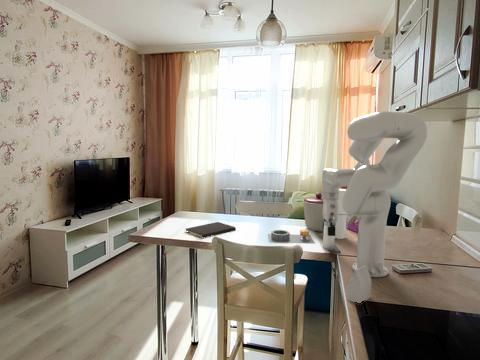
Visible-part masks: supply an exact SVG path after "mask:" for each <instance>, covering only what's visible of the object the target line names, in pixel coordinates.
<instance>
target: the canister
mask: <svg viewBox="0 0 480 360" xmlns="http://www.w3.org/2000/svg"><path fill="white" fill-rule="evenodd" d="M323 200H324V199H322V192H316V193H315V196H309V197H305V198H304V199H302V203H303V212H304V214H303V215H304V222H305V223H304V224H305V227H306V229H307V230H312V231H314V232H324V230H323Z"/></svg>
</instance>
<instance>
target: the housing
mask: <svg viewBox="0 0 480 360" xmlns="http://www.w3.org/2000/svg"><path fill="white" fill-rule="evenodd" d="M267 239H268V243H280V244H281V243H282V244H283V243H284V244H286V243H287V244H316V242H315V240H314V239H313V238H312V236H311V234H309V236H306V239H303V236H301V235H300V234H290V231H288V230H285V229H274V230H272V231H271V233H268V234H267Z"/></svg>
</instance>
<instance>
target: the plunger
mask: <svg viewBox="0 0 480 360" xmlns="http://www.w3.org/2000/svg"><path fill="white" fill-rule="evenodd" d="M299 235H301V236H303V238H302V240H307V238H306V236H309V235H310V230H309V229H300V230H299Z"/></svg>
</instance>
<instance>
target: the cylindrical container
mask: <svg viewBox="0 0 480 360" xmlns="http://www.w3.org/2000/svg"><path fill="white" fill-rule="evenodd" d="M346 189H347V188H339V200H337V202H338V221H337V222H336V228H335V239H336V238H337V239H339V240H342V239H344V240H345V239H346V237H347V236H346V235H347V228H346V218H347V213H346V212H345V211H344V209H343V206H342V200H343V196H344V193H345V191H346Z"/></svg>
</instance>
